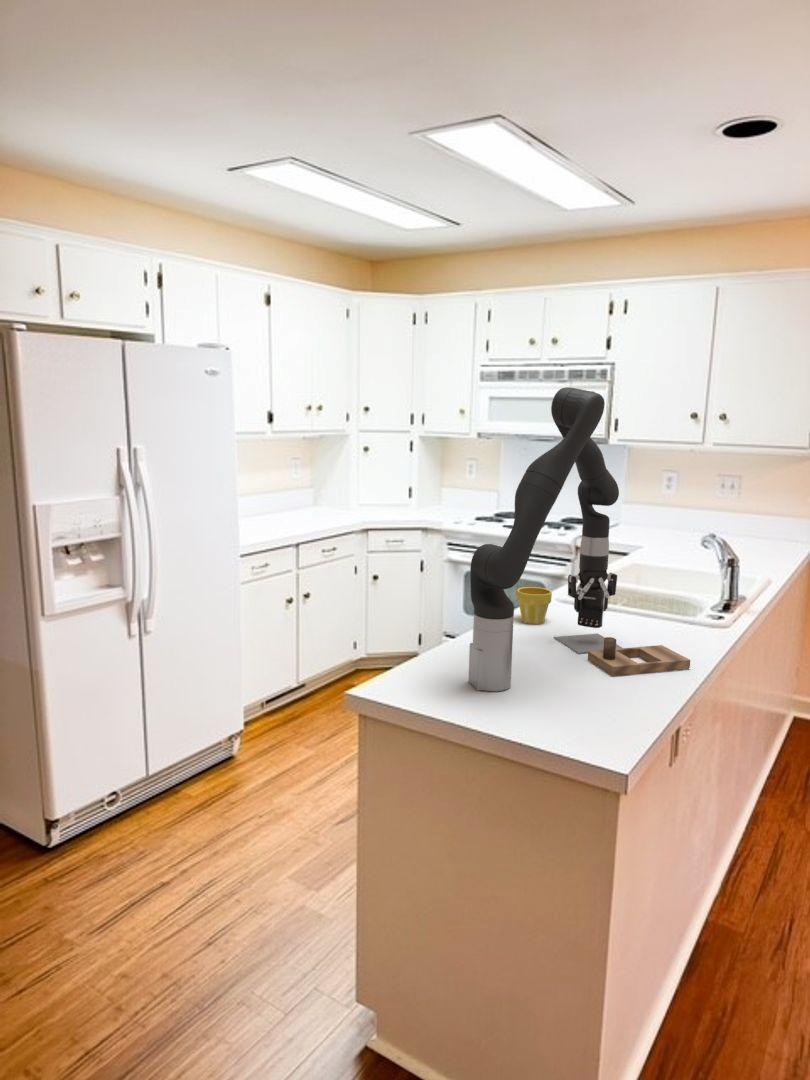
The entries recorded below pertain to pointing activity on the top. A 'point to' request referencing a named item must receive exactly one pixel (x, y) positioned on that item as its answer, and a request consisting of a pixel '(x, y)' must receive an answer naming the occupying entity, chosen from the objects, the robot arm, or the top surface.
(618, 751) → the top surface
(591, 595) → the battery charger
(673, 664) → the plane body
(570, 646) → the rubber mat
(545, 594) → the plant pot
